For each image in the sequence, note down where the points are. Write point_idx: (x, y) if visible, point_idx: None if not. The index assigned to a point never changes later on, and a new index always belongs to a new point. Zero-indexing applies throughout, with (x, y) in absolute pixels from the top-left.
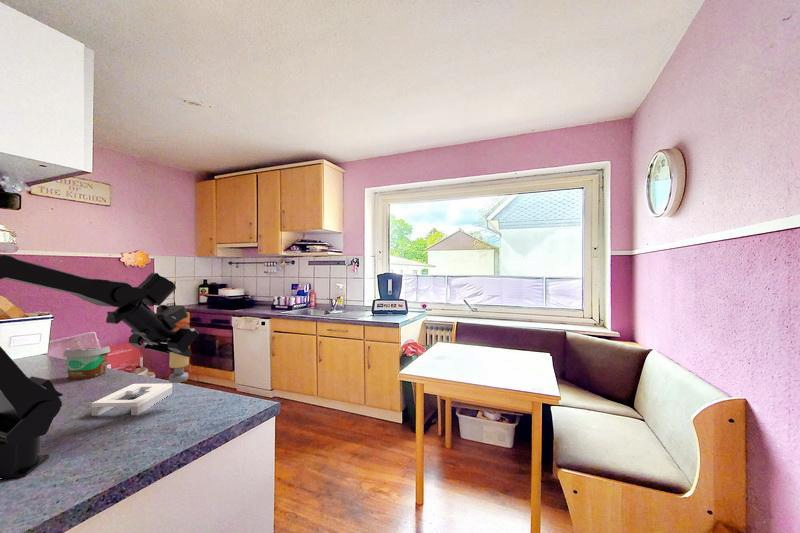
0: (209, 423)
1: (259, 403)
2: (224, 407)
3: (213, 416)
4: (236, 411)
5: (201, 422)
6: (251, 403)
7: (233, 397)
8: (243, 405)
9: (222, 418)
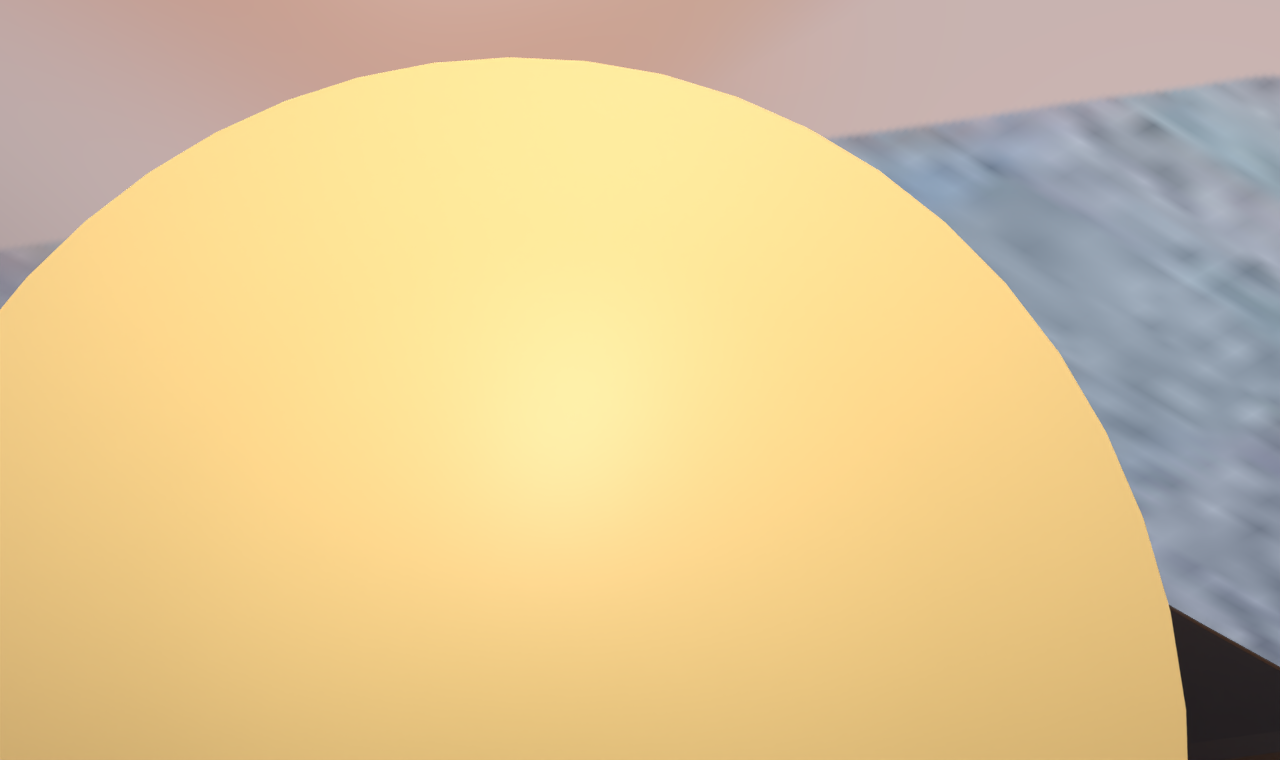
0: (1274, 597)
1: (1229, 138)
2: (1054, 341)
3: (1162, 498)
4: (1226, 339)
5: (1197, 619)
6: (1170, 173)
7: (905, 171)
8: (1153, 233)
9: (1267, 484)
